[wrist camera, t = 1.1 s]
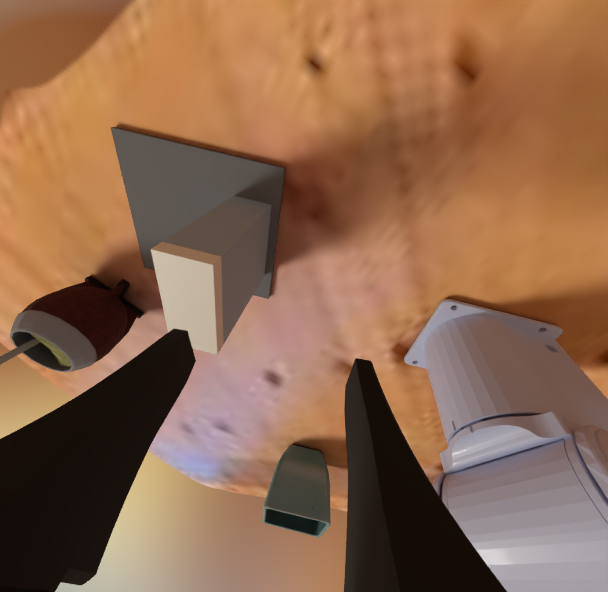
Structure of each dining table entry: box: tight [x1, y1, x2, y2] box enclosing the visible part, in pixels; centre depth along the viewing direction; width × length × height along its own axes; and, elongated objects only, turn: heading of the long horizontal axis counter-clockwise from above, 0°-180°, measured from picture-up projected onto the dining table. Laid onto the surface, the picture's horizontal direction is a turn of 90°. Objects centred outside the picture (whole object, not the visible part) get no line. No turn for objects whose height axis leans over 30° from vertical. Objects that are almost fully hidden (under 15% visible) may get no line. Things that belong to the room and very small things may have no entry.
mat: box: [111, 127, 286, 299], centre depth 20 cm, size 12×11×1 cm
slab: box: [151, 196, 271, 355], centre depth 16 cm, size 3×6×9 cm, turn 170°
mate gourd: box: [0, 276, 144, 372], centre depth 21 cm, size 8×8×15 cm
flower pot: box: [263, 445, 330, 537], centre depth 38 cm, size 9×9×9 cm
